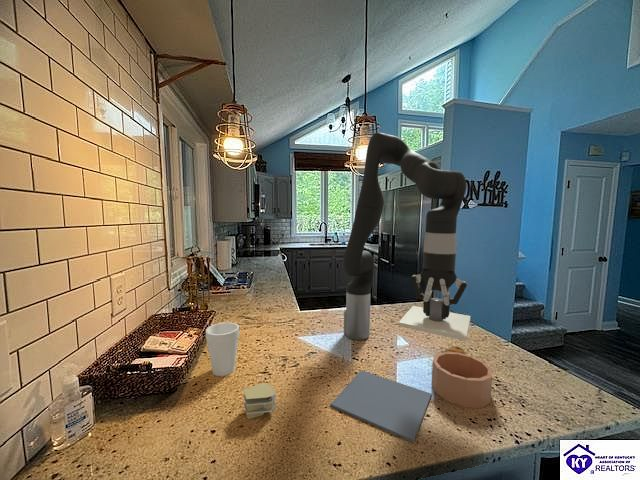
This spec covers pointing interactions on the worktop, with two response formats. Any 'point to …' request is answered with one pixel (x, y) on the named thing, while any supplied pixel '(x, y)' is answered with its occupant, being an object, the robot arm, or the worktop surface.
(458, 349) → the pastry
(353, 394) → the mat
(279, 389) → the worktop surface
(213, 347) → the foam cup
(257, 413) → the pale green layered block
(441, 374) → the bowl
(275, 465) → the worktop surface
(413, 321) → the cover
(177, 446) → the worktop surface
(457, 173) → the robot arm
